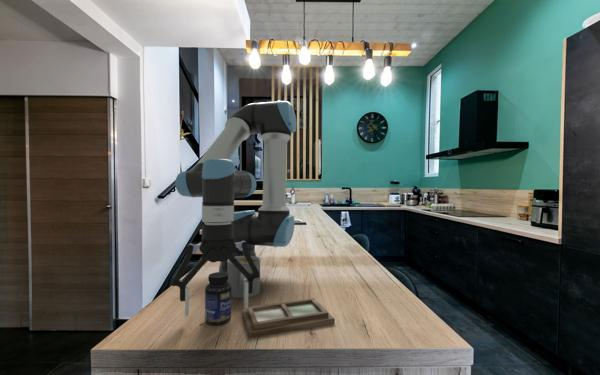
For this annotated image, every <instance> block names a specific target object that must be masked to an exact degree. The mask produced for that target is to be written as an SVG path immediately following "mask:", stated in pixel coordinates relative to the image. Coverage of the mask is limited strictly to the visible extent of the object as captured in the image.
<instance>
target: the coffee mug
mask: <svg viewBox="0 0 600 375" xmlns="http://www.w3.org/2000/svg"><path fill="white" fill-rule="evenodd" d="M256 256H257V255H256ZM256 256H251V258H252V260H253V262H254V264H255V266H256V268H257V270H258V271H259V273H260V274H261V258H260V257H258V256H257V257H256ZM235 258H236V259H237V260H238V261H239V262H240V263H241V264H242V265H243V266H244V268H245V269H246V270H247V271H248V272H249V273H250V274H251V273H253V271H252V269H251V268H250V266H249V264H248V262H247V260H246V258H245V256H237V257H235ZM227 273H228V280H227V282H228V283H230V285H231V298H235V299H244V279H247V278H246V277H245V276H244V275H243V274H242V273H241V272H240V271H239V270H238V269H237V268H236V266H235V265H234V264H233V263H232V262H231V261H230V260H229V259H228V261H227ZM260 293H261V276H260V277H259V278H255V279H254V280H253V291H252V293H249V294H248V298H251V297H256V296H257V295H259V294H260Z"/></svg>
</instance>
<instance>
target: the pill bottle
mask: <svg viewBox="0 0 600 375" xmlns="http://www.w3.org/2000/svg"><path fill="white" fill-rule="evenodd" d="M207 280H208V283H209V284H207V285H206V287H205V289H204V290H205V291H204V296H205V297H204V300H205V301H204V318H205V319H204V320H205V323H206V324H207V325H211V326H220V325H224V324H227V323H228V322H229V321H230V320H231V319H232V297H231V285H230V283H228V282H227V280H228V273H225V272H219V271H218V272H212V273H210V274H208V279H207Z"/></svg>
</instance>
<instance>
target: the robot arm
mask: <svg viewBox="0 0 600 375" xmlns="http://www.w3.org/2000/svg"><path fill="white" fill-rule="evenodd" d="M297 123H298V122H297V116H296V113H295V110H294V107H293V105H292V103H291V102H290V101H287V100H277V101H266V102H252V103H248V104H246V105H244V106H242V107H240V108H239V109H237V110H236V111H235V112H234V113H232V115H231V116H230V117H229V118H228V119H227V120H226V121H225V124H224V128H223V130H222V131H221V133H220V134H219V135H218V136H217V138H216V139H215V140H214V141H213V142H212V144H211V145H210V146H209V148H208V149H207V150H206V152H205V153H203V155H202V157H201V158H200V159H199V160H198V161H197V163H196V164H195V166H194V167H193V168H192V169H191V170H186V171H181V172H179V173H178V174H177V176H176V178H175V181H174V182H175V183H174V184H175V190H176V191H177V193H178V194H179V195H180V196H182V197H186V198H187V197H188V198H202V203H201V204H202V205H201V222H203V224H202V225H201V242H200V244H193V243H192V242H191V243H188V245H187V250H186V254H185V256H184V257H183V259H182V262H181V264H180V265H179V267H178V269H177V270H176V273H175V275H174V276H173V278H172V280H171V283H170V284H171V286H172V287H178V288H179V301H180V302H184V318H186V317H189V315H190V314H189V313H190V284H189V283H190V282H191V281H192V279H193V278H194V277H195V276H196V275H197V273H199V271H200V270H201V269H202V268H203V267H204V265H205V264H207V263H208V262H210V263H211V264H212V263H217V262H219V267H218V272H225V273H227V261H228V259H229V260H230V261H231V262H232V263H233V264H234V265H235V266H236V268H237V269H238V270H239V271H240V272H241V273H242V274H243V275H244V276H245V277H246V278H247V279H244V298H243V307H244V309H247V308H248V307H249V297H248V294H249V293H252V291H253V280H254V279H255V278H259V277H260V278H261V272H260V273H259V271H258V270H257V268H256V266H255V264H254V262H253V260H252V258H251V256H256V257H258V256H257V253H256V246H260V247H262V246H263V247H274V248H279V247H283V248H284V247H287V246H288V245H290V243H291V241H292V239H293V236H294V232H295V222H296V221H295V216H293V215H292V214H291V213H290V211H291V210H290V209H289V208H288V207H287V205H286V204H287V203H286V200H287V196H286V195H287V164H288V163H287V160H288V157H287V156H288V154H287V153H288V142H289V141H291V139H292V134H293V133H295V132H296V131H297V127H298V126H297ZM252 135H260V136H259V137H260V138H261V139H262V140H263V143H264V144H263V145H264V146H263V172H262V173H263V175H262V176H263V177H262V178H263V180H262V204H261V206H260V207H259V208H258V210H257V211H258V212H257V213H256V210H254V209H252V210H241V211H235V198H237V199H238V198H241V199H244V198H247V197H249V196H251V195H253V194H254V193H255V191H256V189H257V180H256V178H255V176H254V175H253V174H252V173H250V172H248V171H246V170H236V169H235V162H234V161H233V160H231V159H232V157H233V156H234V155H235V153H236V152H237V150H238V148H239V147H240V145H241V144H242V142H243V141H246V140H247V139H249V137H250V136H252ZM197 251H200V253H202V256H201V257H200V258H199V260H198V261H197V262H196V263H195V264H194V266H193V267H192V268H191V269H190V270H189V271H188V272H187V274H185V276H183V278H182V279H181V277H182V275H183V274H184V272H185V270H186V268H187V266H188V264H189V262H190V261H191V258H192V256H193V255H194V254H196V253H197ZM237 256H245V258H246V260H247V262H248V264H249V266H250V268H251V269H252V271H253V273H251V274H250V273H249V272H248V271H247V270H246V269H245V268H244V266H243V265H242V264H241V263H240V262H239V261H238V260H237V259H236V258H235V257H237Z"/></svg>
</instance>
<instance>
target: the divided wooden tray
mask: <svg viewBox="0 0 600 375" xmlns="http://www.w3.org/2000/svg"><path fill="white" fill-rule="evenodd" d="M242 317H243V320H244V323H245V324H244V325H245V326H246V329H247V332H248V336H249V338H250V339H253V338H254V339H255V338H259V337H264V336H271V335H272V336H273V335H276V334H282V333H289V332H293V331H294V332H295V331H299V330H307V329H311V328H317V327H323V326H327V325H329V326H330V325H333V324H335V317H334V316H333V315H332V314H331V313H330V312H329V311H327V309H325V308H324V306H323V305H321V304H320V303H319V301H317V299H315V297H312V298H304V299H299V300H298V299H297V300H290V301H283V302H276V303H275V302H274V303H268V304H267V303H266V304H261V305H254V306H248V308H247V309H245V308H244V309H242Z"/></svg>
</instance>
